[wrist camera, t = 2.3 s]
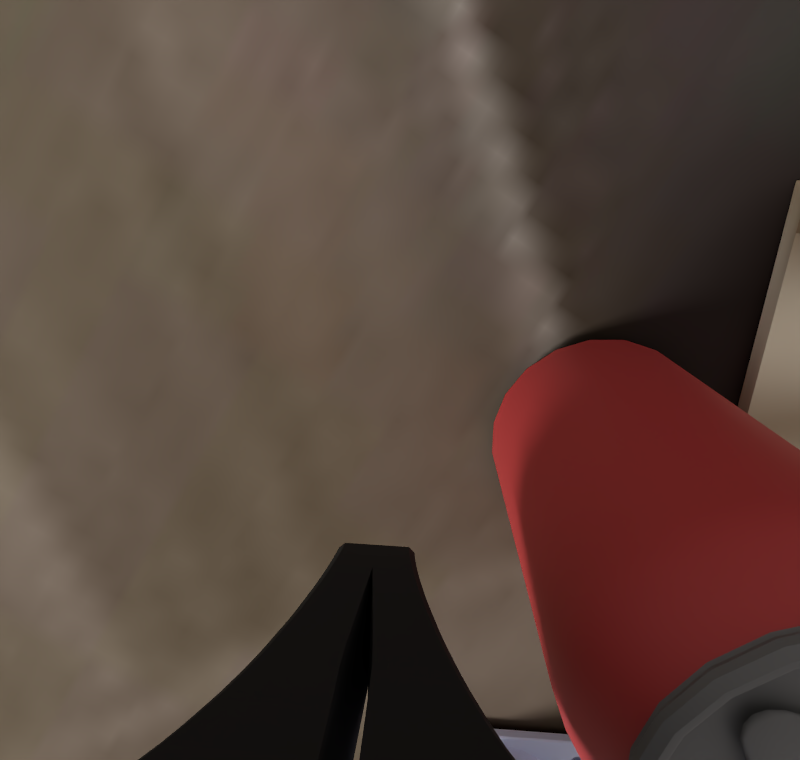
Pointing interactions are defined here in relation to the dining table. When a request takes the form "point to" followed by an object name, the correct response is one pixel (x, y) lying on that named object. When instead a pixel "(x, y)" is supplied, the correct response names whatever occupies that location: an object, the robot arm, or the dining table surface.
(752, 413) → the birch tray
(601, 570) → the beer can
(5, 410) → the dining table surface
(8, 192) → the dining table surface
